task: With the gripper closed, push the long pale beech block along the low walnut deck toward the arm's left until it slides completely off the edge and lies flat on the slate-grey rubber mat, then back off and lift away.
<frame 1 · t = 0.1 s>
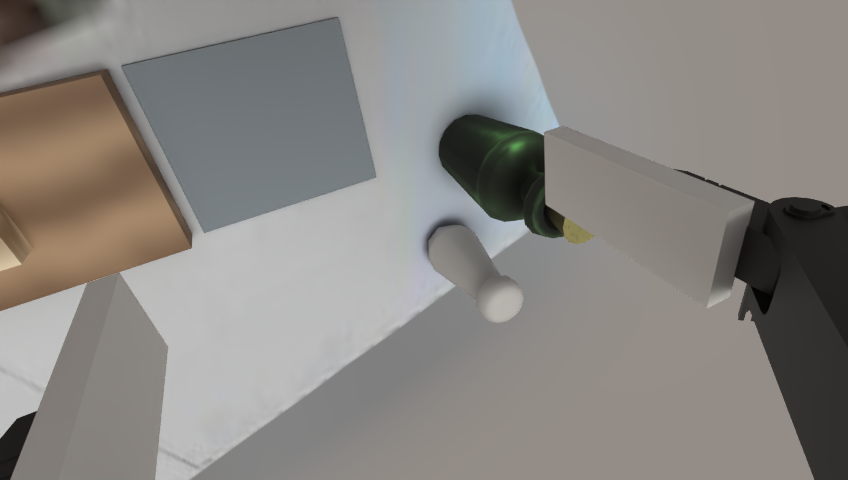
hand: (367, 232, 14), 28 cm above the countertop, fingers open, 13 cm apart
slate mat: (267, 129, 38), on the countertop
walnut deck: (10, 200, 34), on the countertop
potion bottle: (466, 145, 47), on the countertop
salt shaker: (444, 240, 51), on the countertop
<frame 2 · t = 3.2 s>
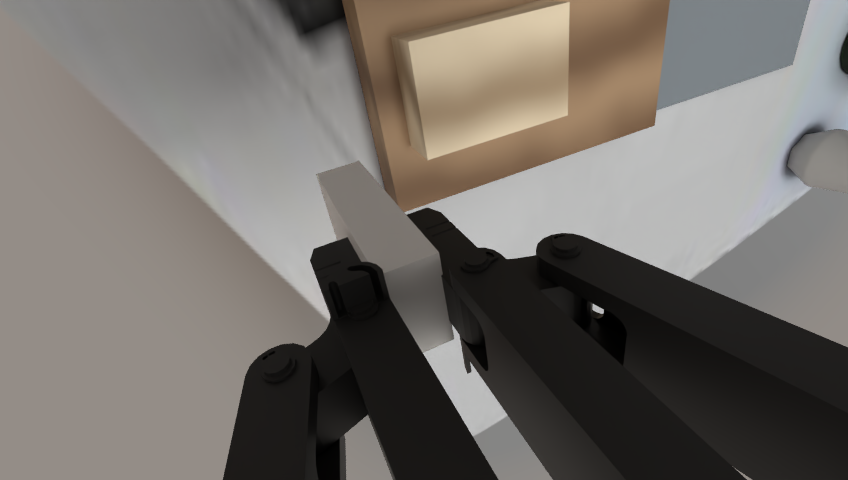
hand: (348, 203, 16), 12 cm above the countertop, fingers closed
beech block: (474, 74, 26), point 2 cm above the countertop, touching walnut deck
walnut deck: (512, 52, 29), on the countertop
salt shaker: (800, 151, 46), on the countertop
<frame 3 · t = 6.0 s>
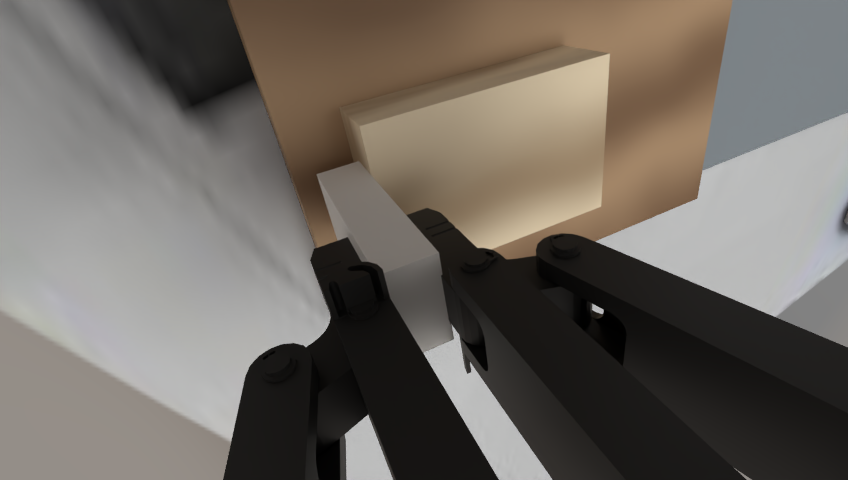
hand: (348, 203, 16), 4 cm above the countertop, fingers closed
beech block: (467, 152, 18), point 3 cm above the countertop
slate mat: (801, 20, 26), on the countertop
walnut deck: (506, 113, 21), on the countertop
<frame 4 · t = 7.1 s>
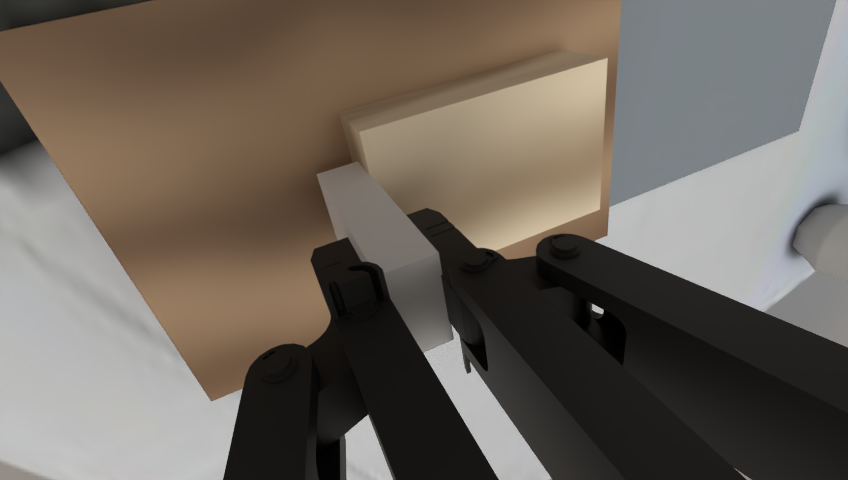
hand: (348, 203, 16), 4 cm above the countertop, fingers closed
beech block: (467, 155, 18), point 3 cm above the countertop, touching gripper
slate mat: (719, 45, 24), on the countertop
walnut deck: (382, 152, 19), on the countertop
salt shaker: (809, 226, 37), on the countertop
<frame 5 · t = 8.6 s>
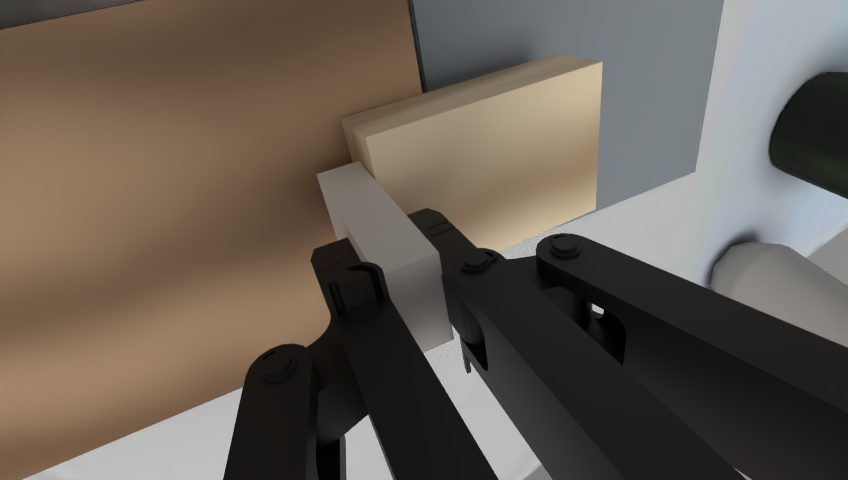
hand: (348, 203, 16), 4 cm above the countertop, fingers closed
beech block: (465, 159, 18), point 2 cm above the countertop, touching gripper
slate mat: (582, 87, 22), on the countertop
walnut deck: (168, 219, 17), on the countertop
potion bottle: (802, 122, 30), on the countertop
salt shaker: (728, 264, 35), on the countertop
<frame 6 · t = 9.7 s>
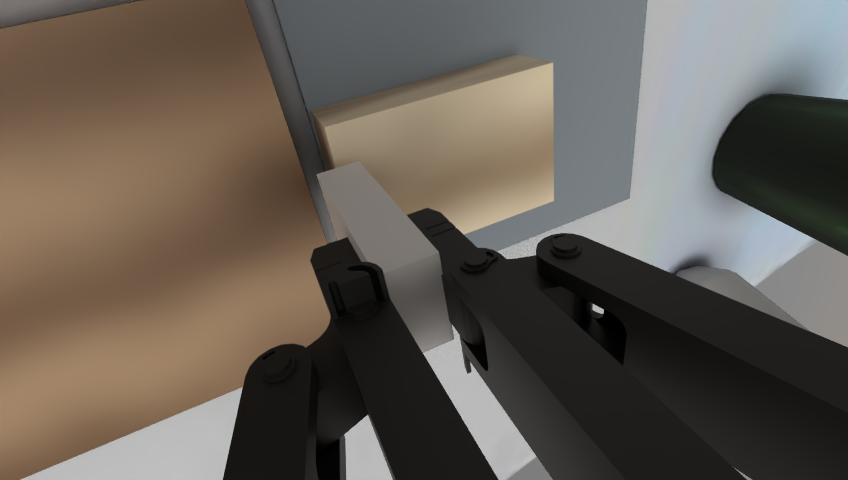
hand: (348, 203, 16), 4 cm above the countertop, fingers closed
beech block: (431, 150, 20), resting on slate mat
slate mat: (494, 116, 21), on the countertop
walnut deck: (23, 264, 16), on the countertop
potion bottle: (747, 144, 29), on the countertop
salt shaker: (677, 288, 34), on the countertop
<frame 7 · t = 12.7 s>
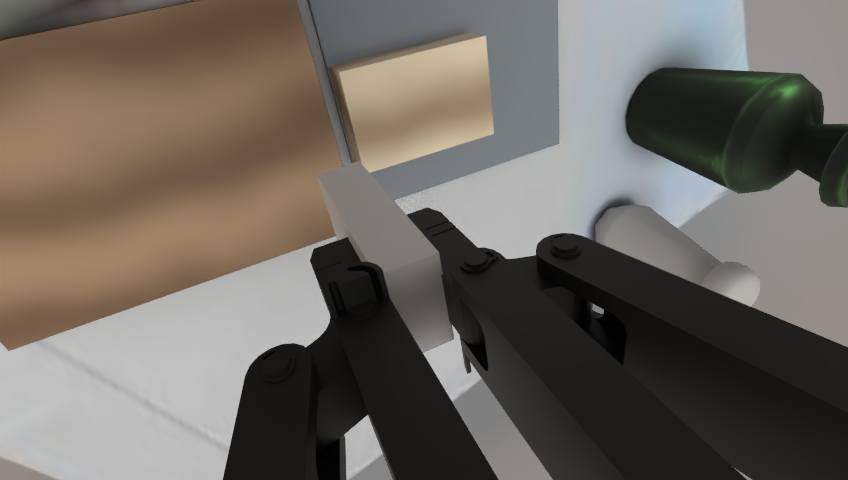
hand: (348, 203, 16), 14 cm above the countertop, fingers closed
beech block: (409, 98, 29), resting on slate mat
slate mat: (453, 76, 30), on the countertop
walnut deck: (147, 161, 25), on the countertop
potion bottle: (653, 107, 39), on the countertop
salt shaker: (609, 224, 43), on the countertop
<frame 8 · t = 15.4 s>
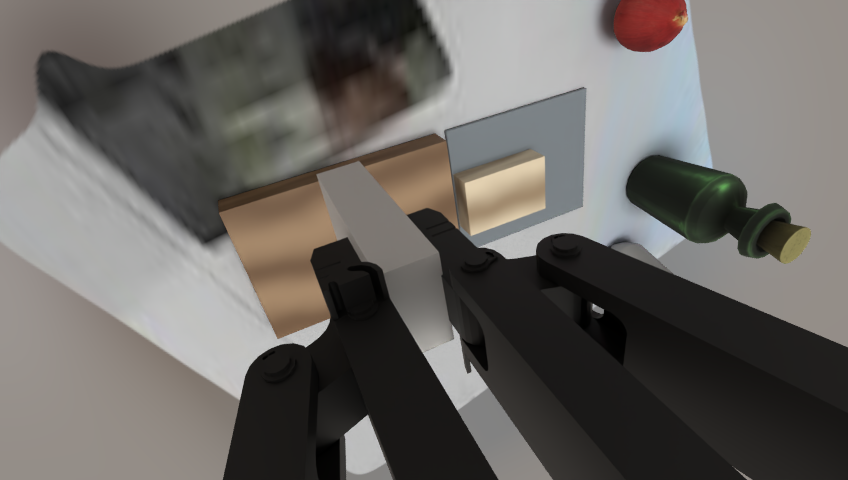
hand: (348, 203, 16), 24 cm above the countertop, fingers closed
beech block: (494, 187, 48), resting on slate mat
slate mat: (520, 172, 49), on the countertop
onion: (617, 15, 45), on the countertop
walnut deck: (352, 231, 44), on the countertop
potion bottle: (644, 179, 57), on the countertop
salt shaker: (614, 254, 62), on the countertop
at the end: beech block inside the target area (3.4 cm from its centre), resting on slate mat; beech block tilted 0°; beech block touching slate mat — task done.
